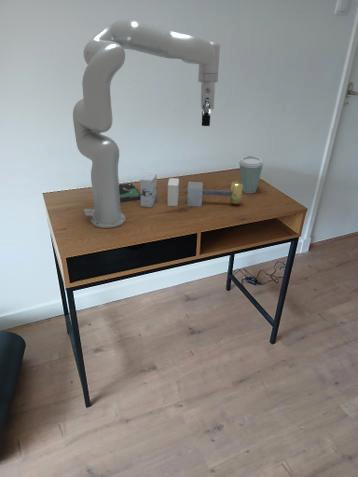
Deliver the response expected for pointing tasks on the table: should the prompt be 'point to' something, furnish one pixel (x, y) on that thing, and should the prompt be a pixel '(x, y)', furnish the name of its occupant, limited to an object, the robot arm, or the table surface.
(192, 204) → the block
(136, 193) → the disk drive
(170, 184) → the white rectangular block
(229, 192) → the sliding bolt
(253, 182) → the disposable coffee cup
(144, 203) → the ink box
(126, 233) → the table surface
